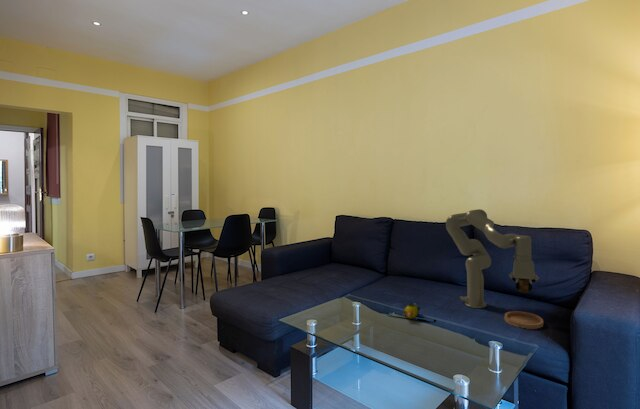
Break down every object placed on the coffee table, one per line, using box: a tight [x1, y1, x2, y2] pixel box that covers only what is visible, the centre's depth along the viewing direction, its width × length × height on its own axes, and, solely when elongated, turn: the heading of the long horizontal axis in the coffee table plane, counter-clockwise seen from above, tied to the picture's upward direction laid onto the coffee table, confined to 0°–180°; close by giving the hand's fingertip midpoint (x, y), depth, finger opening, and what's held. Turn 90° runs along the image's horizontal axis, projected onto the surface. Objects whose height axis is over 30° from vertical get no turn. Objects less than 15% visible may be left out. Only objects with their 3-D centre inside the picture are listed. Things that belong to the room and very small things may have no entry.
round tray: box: [503, 310, 544, 330], centre depth 191 cm, size 19×19×2 cm
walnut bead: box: [518, 279, 530, 294], centre depth 191 cm, size 5×5×7 cm
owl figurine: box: [386, 302, 422, 321], centre depth 203 cm, size 28×9×15 cm
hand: (523, 289), depth 191 cm, fingers closed on walnut bead, 5 cm apart
